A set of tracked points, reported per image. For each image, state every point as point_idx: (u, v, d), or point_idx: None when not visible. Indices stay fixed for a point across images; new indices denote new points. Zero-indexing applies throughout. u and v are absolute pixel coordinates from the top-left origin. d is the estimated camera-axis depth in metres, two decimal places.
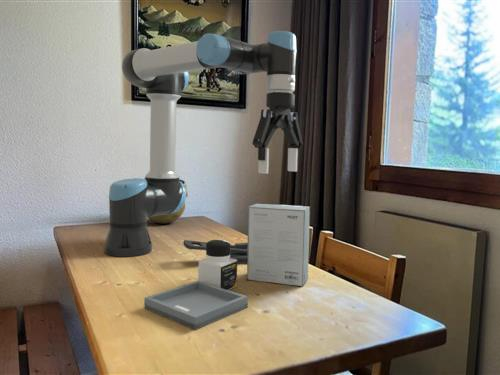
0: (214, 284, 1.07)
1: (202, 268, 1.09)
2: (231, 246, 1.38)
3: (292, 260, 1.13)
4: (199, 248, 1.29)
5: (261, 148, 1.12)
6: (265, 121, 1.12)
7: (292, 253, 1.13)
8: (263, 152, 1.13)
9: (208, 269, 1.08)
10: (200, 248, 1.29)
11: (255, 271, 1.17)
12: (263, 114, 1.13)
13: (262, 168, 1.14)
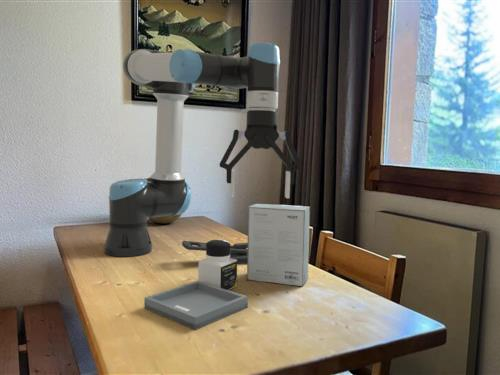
0: (214, 284, 1.07)
1: (202, 268, 1.09)
2: (230, 246, 1.37)
3: (292, 260, 1.13)
4: (198, 249, 1.28)
5: (226, 170, 1.08)
6: None
7: (292, 253, 1.13)
8: (228, 174, 1.07)
9: (208, 269, 1.08)
10: (199, 249, 1.28)
11: (255, 271, 1.17)
12: (233, 134, 1.07)
13: None
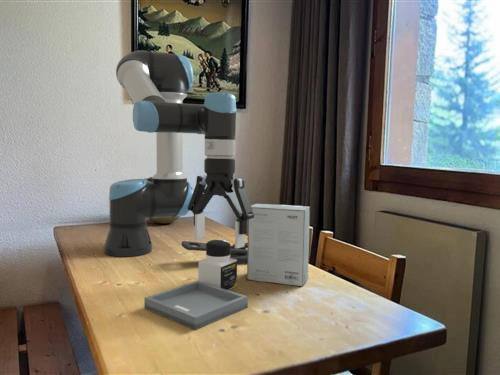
0: (214, 284, 1.07)
1: (202, 268, 1.09)
2: None
3: (292, 260, 1.13)
4: (198, 249, 1.28)
5: None
6: None
7: (292, 253, 1.13)
8: (194, 218, 1.14)
9: (208, 269, 1.08)
10: (199, 249, 1.28)
11: (255, 271, 1.17)
12: None
13: None
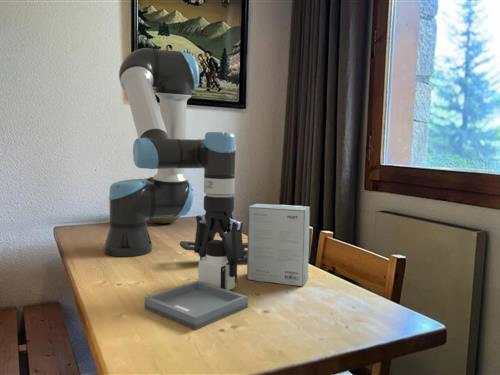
0: (214, 284, 1.07)
1: (202, 268, 1.09)
2: None
3: (292, 260, 1.13)
4: None
5: None
6: None
7: (292, 253, 1.13)
8: None
9: (208, 268, 1.08)
10: None
11: (255, 271, 1.17)
12: None
13: None
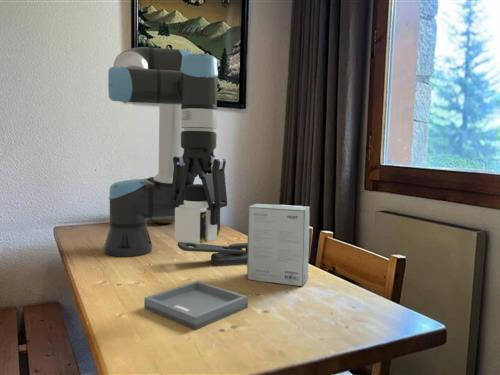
0: (193, 233, 0.92)
1: (179, 216, 0.93)
2: (225, 247, 1.36)
3: (292, 260, 1.13)
4: (195, 250, 1.27)
5: None
6: None
7: (292, 253, 1.13)
8: None
9: (186, 216, 0.92)
10: (196, 250, 1.27)
11: (255, 271, 1.17)
12: None
13: None
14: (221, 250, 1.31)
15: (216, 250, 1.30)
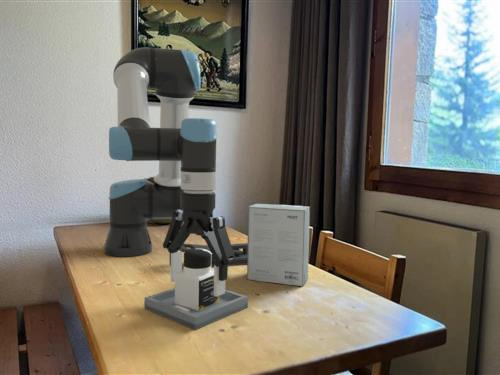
0: (192, 300, 0.93)
1: (179, 282, 0.95)
2: None
3: (292, 260, 1.13)
4: None
5: None
6: None
7: (292, 253, 1.13)
8: (170, 256, 1.01)
9: (185, 282, 0.94)
10: None
11: (255, 271, 1.17)
12: None
13: None
14: None
15: None
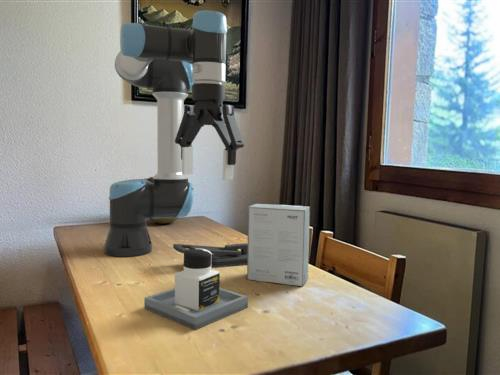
0: (192, 300, 0.93)
1: (179, 282, 0.95)
2: (221, 248, 1.35)
3: (292, 260, 1.13)
4: None
5: None
6: None
7: (292, 253, 1.13)
8: None
9: (185, 282, 0.94)
10: None
11: (255, 271, 1.17)
12: None
13: None
14: (218, 251, 1.29)
15: (213, 251, 1.28)
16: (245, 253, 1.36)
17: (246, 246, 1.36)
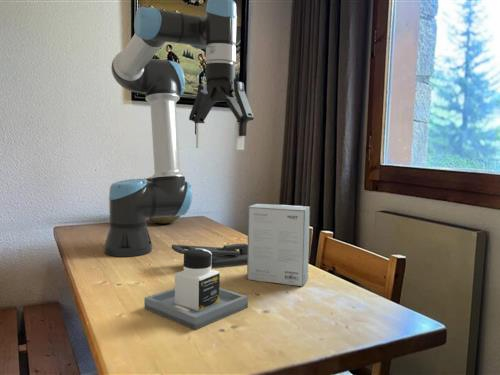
0: (192, 300, 0.93)
1: (179, 282, 0.95)
2: (219, 248, 1.34)
3: (292, 260, 1.13)
4: None
5: None
6: None
7: (292, 253, 1.13)
8: (196, 127, 1.17)
9: (185, 282, 0.94)
10: None
11: (255, 271, 1.17)
12: None
13: None
14: (217, 252, 1.29)
15: (212, 252, 1.28)
16: (243, 253, 1.35)
17: (244, 246, 1.35)
